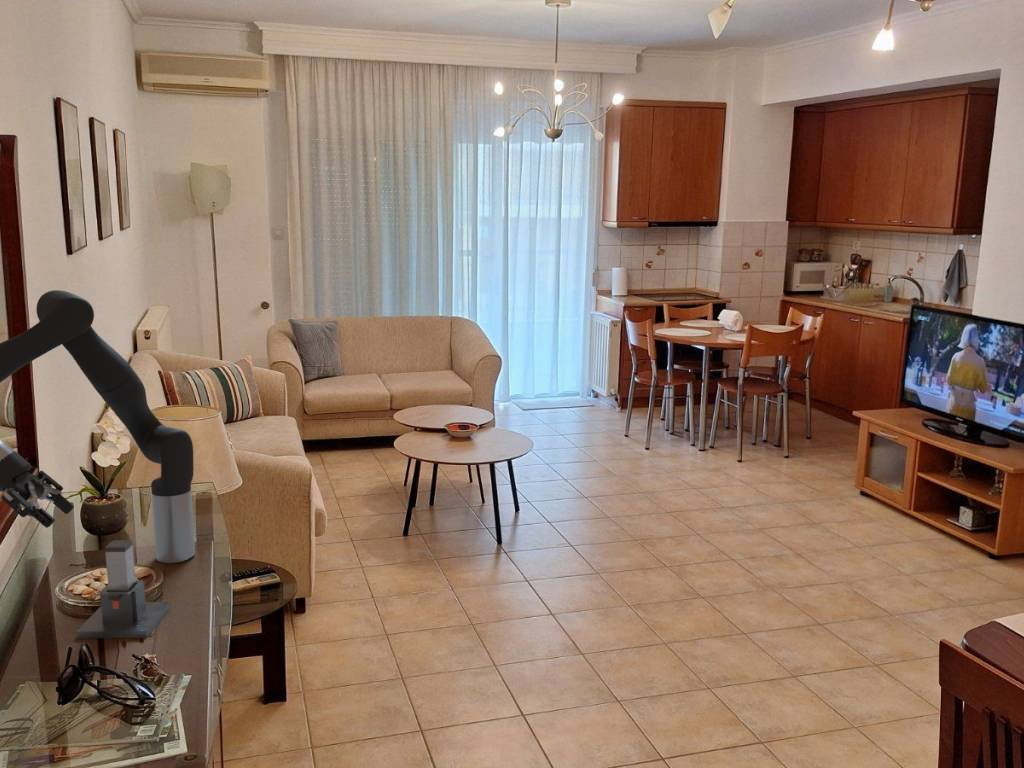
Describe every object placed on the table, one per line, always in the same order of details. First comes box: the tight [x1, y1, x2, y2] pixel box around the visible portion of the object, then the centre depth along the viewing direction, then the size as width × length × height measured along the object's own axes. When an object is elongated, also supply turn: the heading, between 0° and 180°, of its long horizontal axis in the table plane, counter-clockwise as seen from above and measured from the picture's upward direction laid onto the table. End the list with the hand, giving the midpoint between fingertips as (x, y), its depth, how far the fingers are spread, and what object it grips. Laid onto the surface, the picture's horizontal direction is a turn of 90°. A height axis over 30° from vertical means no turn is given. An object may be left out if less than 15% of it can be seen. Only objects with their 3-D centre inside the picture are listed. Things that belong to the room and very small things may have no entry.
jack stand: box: [75, 579, 171, 640], centre depth 190 cm, size 14×14×8 cm
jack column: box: [104, 539, 136, 592], centre depth 189 cm, size 4×4×16 cm
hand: (61, 517), depth 186 cm, fingers open, 8 cm apart
